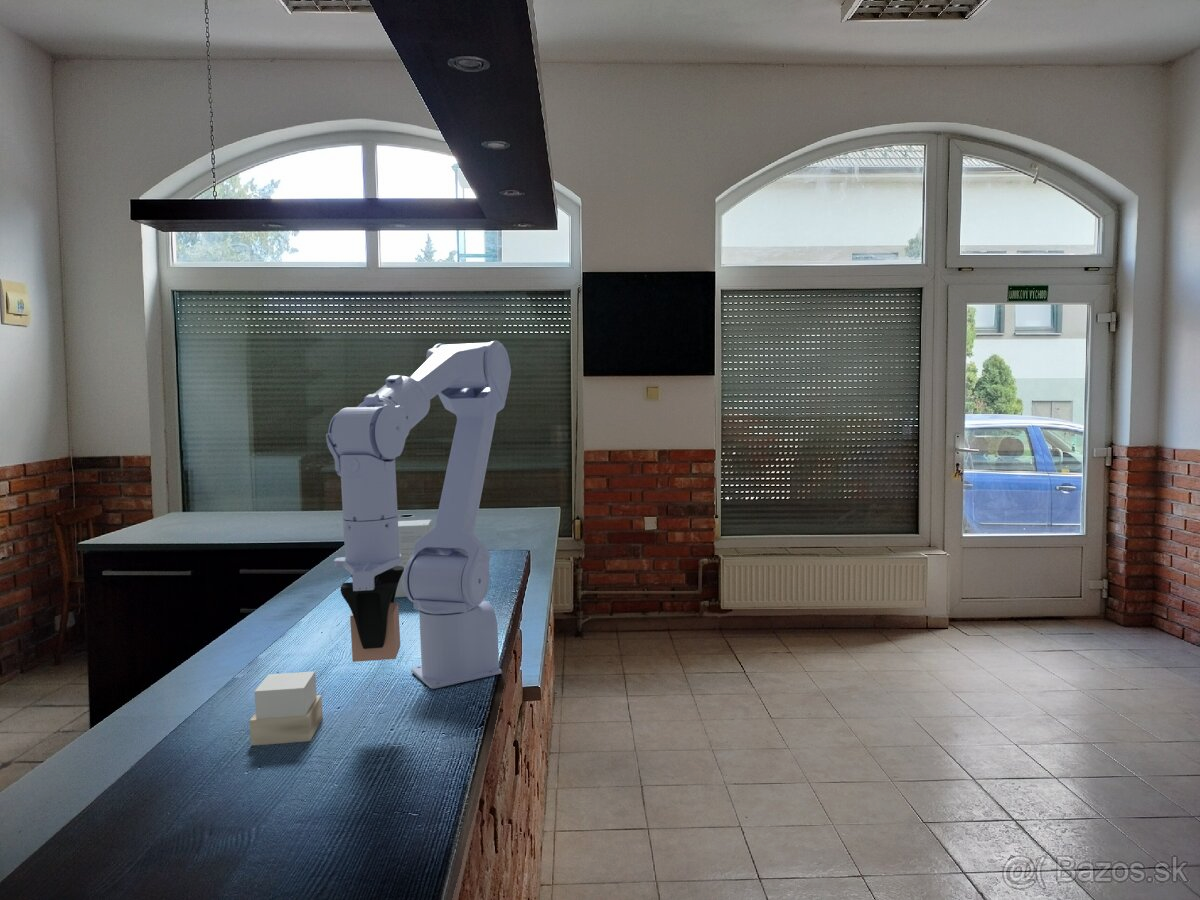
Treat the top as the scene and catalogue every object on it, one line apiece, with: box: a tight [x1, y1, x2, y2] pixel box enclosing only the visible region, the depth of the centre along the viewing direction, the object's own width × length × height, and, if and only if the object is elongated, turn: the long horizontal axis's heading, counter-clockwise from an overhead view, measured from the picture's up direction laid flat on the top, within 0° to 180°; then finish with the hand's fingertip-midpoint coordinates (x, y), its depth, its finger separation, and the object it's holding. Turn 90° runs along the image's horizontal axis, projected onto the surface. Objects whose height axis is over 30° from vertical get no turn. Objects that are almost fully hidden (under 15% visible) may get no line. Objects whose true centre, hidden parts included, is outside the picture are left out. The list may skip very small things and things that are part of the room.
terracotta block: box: [349, 601, 401, 663], centre depth 89 cm, size 4×4×5 cm
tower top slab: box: [254, 671, 318, 719], centre depth 88 cm, size 5×5×3 cm
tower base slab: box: [249, 694, 324, 746], centre depth 88 cm, size 6×6×3 cm
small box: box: [395, 519, 433, 599], centre depth 147 cm, size 8×6×13 cm
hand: (376, 640), depth 89 cm, fingers closed on terracotta block, 4 cm apart
